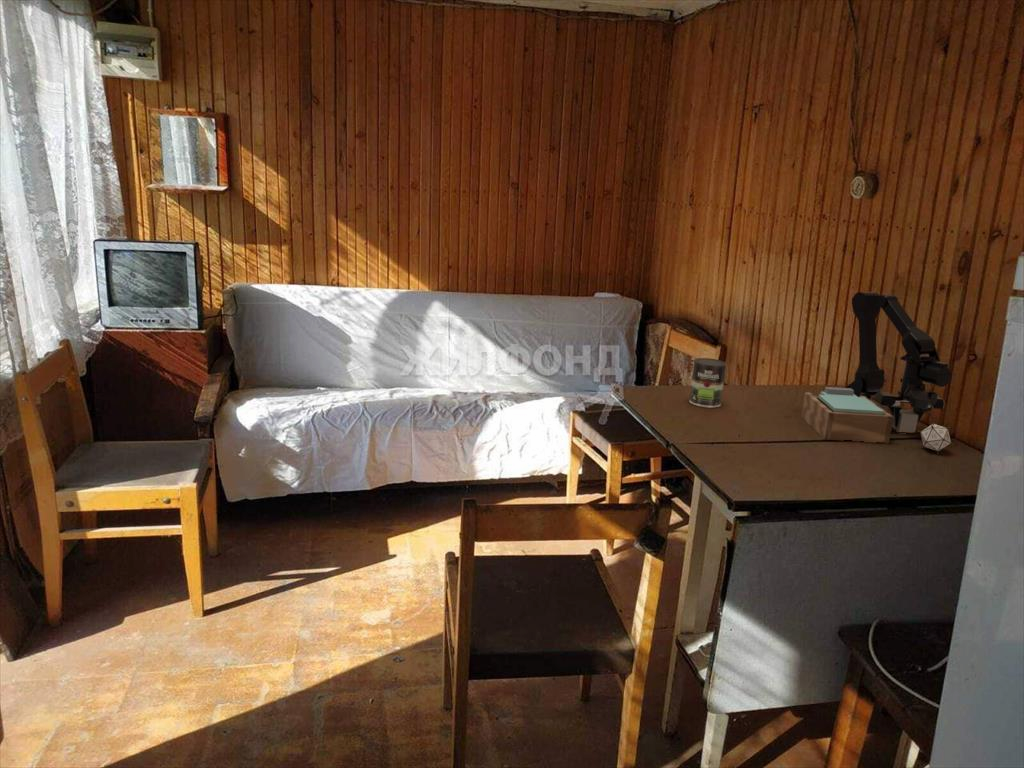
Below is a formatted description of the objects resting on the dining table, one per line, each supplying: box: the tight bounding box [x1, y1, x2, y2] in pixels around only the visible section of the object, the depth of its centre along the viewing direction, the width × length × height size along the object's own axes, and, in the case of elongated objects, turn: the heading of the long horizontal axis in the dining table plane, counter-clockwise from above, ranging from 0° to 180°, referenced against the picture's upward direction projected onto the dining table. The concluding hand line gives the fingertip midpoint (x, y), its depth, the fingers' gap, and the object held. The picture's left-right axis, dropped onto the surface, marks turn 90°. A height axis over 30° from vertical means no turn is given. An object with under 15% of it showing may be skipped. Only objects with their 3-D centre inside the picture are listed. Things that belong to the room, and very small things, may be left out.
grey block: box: [892, 409, 918, 433], centre depth 238 cm, size 5×5×6 cm
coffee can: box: [688, 357, 728, 409], centre depth 255 cm, size 10×10×14 cm
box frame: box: [801, 392, 894, 444], centre depth 236 cm, size 22×18×8 cm
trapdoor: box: [818, 386, 884, 414], centre depth 235 cm, size 18×14×3 cm
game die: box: [917, 420, 955, 455], centre depth 222 cm, size 9×8×10 cm
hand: (903, 427), depth 239 cm, fingers closed on grey block, 5 cm apart
